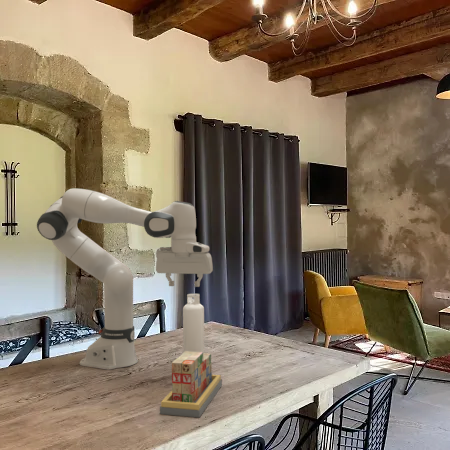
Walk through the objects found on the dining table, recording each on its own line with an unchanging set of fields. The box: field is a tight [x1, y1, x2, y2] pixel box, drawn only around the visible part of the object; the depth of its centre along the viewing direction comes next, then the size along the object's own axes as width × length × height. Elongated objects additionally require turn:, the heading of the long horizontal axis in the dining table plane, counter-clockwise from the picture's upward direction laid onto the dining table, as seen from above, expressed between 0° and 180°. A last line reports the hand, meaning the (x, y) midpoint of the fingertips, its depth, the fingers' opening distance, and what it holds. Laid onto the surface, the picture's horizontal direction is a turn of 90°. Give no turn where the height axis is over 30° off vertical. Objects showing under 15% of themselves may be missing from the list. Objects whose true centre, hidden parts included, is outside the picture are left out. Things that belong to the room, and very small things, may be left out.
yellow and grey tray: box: [159, 374, 223, 418], centre depth 148 cm, size 12×27×4 cm, turn 167°
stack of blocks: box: [171, 351, 213, 403], centre depth 149 cm, size 21×6×12 cm, turn 165°
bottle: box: [182, 293, 205, 354], centre depth 179 cm, size 8×8×28 cm
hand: (184, 286), depth 165 cm, fingers open, 8 cm apart
